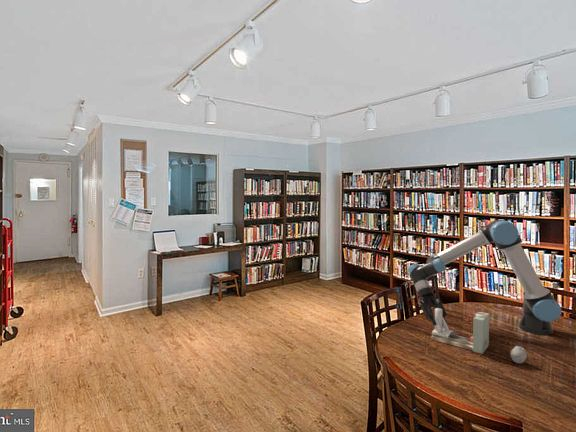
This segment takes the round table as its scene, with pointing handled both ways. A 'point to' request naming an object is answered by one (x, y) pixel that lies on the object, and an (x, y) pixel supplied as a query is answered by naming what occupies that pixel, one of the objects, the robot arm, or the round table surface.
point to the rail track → (454, 341)
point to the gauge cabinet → (480, 332)
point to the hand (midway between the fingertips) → (443, 330)
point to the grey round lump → (518, 354)
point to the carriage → (442, 333)
